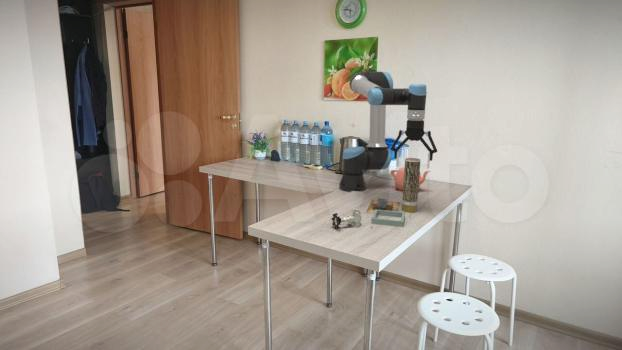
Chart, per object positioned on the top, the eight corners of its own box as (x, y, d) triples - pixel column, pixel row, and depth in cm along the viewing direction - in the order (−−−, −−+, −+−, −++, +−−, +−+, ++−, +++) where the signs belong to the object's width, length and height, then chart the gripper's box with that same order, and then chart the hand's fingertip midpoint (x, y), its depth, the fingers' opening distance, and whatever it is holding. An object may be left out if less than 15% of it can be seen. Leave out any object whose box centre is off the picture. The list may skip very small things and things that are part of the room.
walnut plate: (372, 209, 187) (372, 203, 187) (374, 205, 194) (374, 199, 193) (391, 211, 185) (392, 205, 184) (392, 207, 191) (393, 201, 191)
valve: (356, 222, 172) (331, 226, 168) (357, 208, 170) (331, 211, 166) (364, 228, 166) (338, 231, 162) (365, 212, 164) (338, 216, 160)
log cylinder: (417, 210, 189) (421, 158, 183) (415, 215, 183) (419, 161, 177) (402, 209, 191) (405, 157, 186) (400, 213, 185) (404, 160, 179)
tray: (371, 225, 169) (371, 218, 168) (375, 215, 181) (375, 209, 180) (402, 228, 165) (403, 221, 165) (404, 218, 178) (404, 212, 177)
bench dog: (376, 212, 183) (377, 200, 181) (377, 210, 185) (378, 198, 184) (385, 213, 182) (386, 201, 180) (386, 211, 184) (387, 199, 183)
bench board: (365, 214, 183) (365, 212, 183) (371, 201, 203) (371, 199, 203) (396, 217, 179) (396, 215, 179) (400, 203, 200) (400, 202, 199)
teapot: (388, 187, 231) (389, 165, 228) (411, 185, 236) (412, 163, 233) (405, 195, 215) (406, 171, 212) (429, 192, 221) (431, 169, 218)
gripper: (386, 119, 177) (383, 166, 182) (445, 121, 170) (441, 170, 175) (387, 118, 184) (385, 163, 189) (444, 119, 178) (441, 166, 182)
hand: (412, 166), depth 182 cm, fingers open, 13 cm apart
